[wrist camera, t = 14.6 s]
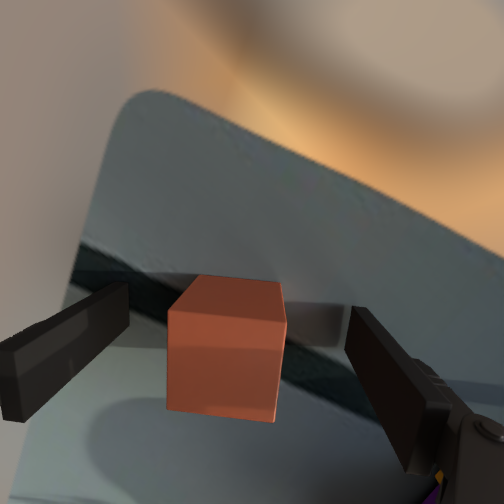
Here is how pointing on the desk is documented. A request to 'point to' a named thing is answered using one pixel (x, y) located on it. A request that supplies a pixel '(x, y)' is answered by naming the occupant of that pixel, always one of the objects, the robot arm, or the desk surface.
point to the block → (226, 348)
